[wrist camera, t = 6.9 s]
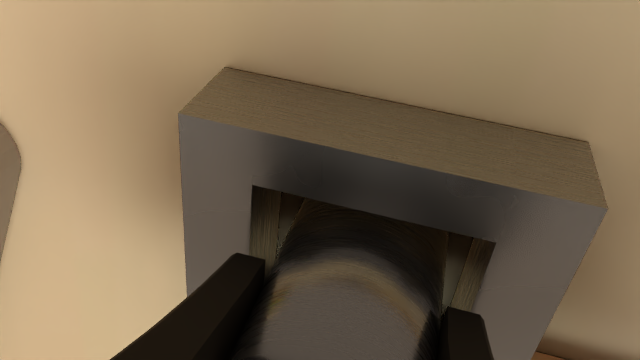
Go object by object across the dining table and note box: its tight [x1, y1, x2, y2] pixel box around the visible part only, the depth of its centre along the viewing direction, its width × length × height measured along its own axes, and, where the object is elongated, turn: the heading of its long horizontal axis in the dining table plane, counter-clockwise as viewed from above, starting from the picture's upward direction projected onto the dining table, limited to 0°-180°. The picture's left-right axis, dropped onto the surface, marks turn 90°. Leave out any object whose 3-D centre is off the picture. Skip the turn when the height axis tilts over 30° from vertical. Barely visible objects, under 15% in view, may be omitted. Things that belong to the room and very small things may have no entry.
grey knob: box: [229, 197, 448, 360], centre depth 11 cm, size 4×4×7 cm
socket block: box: [178, 67, 608, 360], centre depth 14 cm, size 8×11×2 cm
